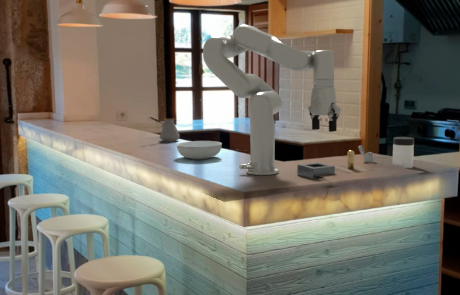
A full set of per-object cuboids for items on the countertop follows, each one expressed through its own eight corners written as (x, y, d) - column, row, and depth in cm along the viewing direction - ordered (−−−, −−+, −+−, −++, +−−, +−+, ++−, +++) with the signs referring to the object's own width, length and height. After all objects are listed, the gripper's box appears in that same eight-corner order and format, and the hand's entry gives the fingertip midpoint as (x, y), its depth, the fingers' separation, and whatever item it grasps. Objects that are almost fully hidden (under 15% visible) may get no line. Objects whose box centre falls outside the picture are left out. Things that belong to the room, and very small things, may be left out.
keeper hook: (350, 169, 215) (350, 150, 214) (345, 168, 218) (346, 150, 217) (355, 168, 217) (356, 150, 216) (351, 167, 219) (351, 149, 218)
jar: (393, 164, 233) (394, 136, 232) (413, 165, 230) (414, 137, 229) (391, 167, 225) (392, 138, 224) (412, 169, 222) (413, 139, 221)
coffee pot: (169, 139, 325) (169, 114, 322) (184, 140, 317) (183, 114, 315) (142, 143, 308) (142, 116, 306) (157, 144, 301) (156, 117, 299)
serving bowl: (201, 153, 269) (201, 139, 268) (231, 158, 254) (231, 143, 253) (167, 158, 255) (167, 143, 254) (197, 163, 240) (197, 147, 239)
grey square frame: (313, 179, 203) (313, 168, 202) (297, 174, 212) (297, 164, 211) (334, 176, 208) (334, 166, 207) (318, 172, 216) (318, 162, 216)
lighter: (374, 164, 233) (375, 146, 231) (373, 165, 231) (373, 146, 230) (359, 163, 237) (359, 144, 236) (357, 163, 236) (358, 145, 235)
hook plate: (348, 176, 208) (348, 173, 208) (325, 170, 220) (325, 167, 220) (376, 172, 215) (376, 169, 214) (352, 167, 227) (352, 164, 227)
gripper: (301, 84, 208) (301, 129, 210) (331, 84, 193) (331, 133, 195) (316, 83, 212) (317, 128, 214) (347, 83, 197) (347, 131, 199)
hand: (324, 130), depth 205 cm, fingers open, 9 cm apart
